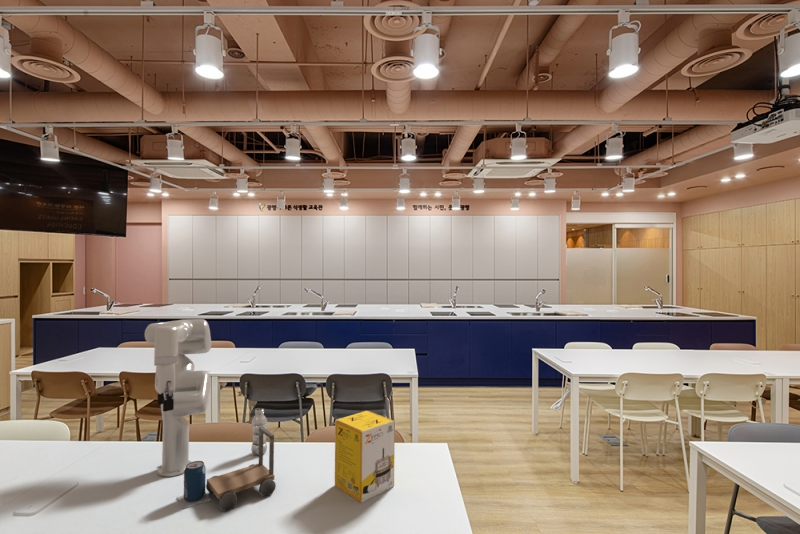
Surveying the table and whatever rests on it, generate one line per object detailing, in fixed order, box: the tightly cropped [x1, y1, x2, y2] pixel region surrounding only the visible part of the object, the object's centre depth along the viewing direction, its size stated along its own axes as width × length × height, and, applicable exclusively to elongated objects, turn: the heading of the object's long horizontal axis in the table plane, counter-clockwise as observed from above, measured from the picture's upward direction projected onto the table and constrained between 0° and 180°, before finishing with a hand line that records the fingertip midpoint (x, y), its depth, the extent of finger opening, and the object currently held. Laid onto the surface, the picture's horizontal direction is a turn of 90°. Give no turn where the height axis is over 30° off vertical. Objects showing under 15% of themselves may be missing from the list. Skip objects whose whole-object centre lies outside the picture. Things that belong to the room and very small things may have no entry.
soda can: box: [183, 460, 207, 503], centre depth 144 cm, size 7×7×12 cm
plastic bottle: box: [250, 407, 268, 456], centre depth 181 cm, size 6×7×20 cm
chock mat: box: [176, 490, 212, 510], centre depth 144 cm, size 9×9×1 cm
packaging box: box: [334, 410, 396, 503], centre depth 154 cm, size 16×16×25 cm
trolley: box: [205, 427, 277, 512], centre depth 148 cm, size 20×16×21 cm
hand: (165, 407), depth 146 cm, fingers open, 9 cm apart
